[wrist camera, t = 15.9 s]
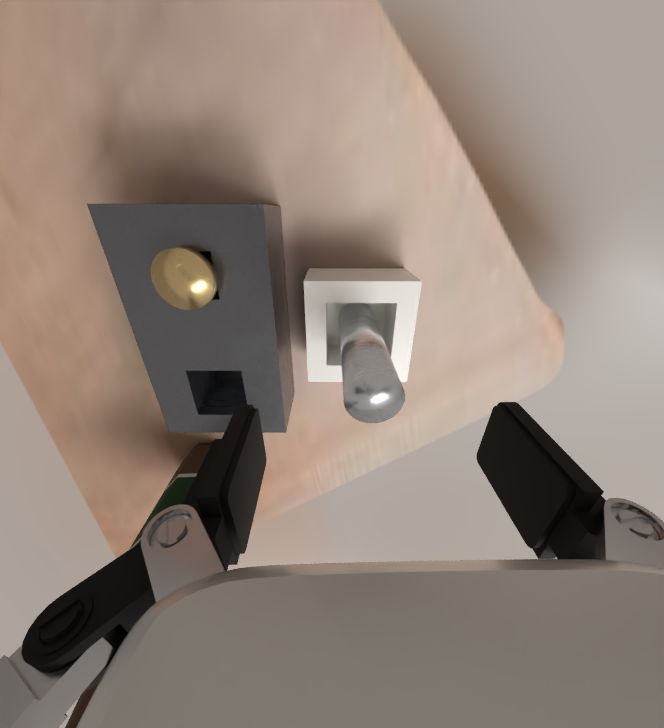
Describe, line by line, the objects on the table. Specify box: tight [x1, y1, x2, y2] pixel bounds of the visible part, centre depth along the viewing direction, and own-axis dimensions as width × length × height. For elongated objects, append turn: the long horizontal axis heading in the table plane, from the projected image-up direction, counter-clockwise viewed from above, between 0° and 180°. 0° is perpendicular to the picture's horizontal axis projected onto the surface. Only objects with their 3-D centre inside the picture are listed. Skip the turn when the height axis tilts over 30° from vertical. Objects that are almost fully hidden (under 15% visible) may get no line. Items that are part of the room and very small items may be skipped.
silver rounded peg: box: [339, 303, 405, 423], centre depth 19 cm, size 3×3×12 cm
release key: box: [151, 247, 218, 310], centre depth 19 cm, size 4×4×6 cm
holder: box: [304, 268, 422, 382], centre depth 23 cm, size 8×8×5 cm
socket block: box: [87, 204, 294, 432], centre depth 23 cm, size 17×10×6 cm, turn 0°
